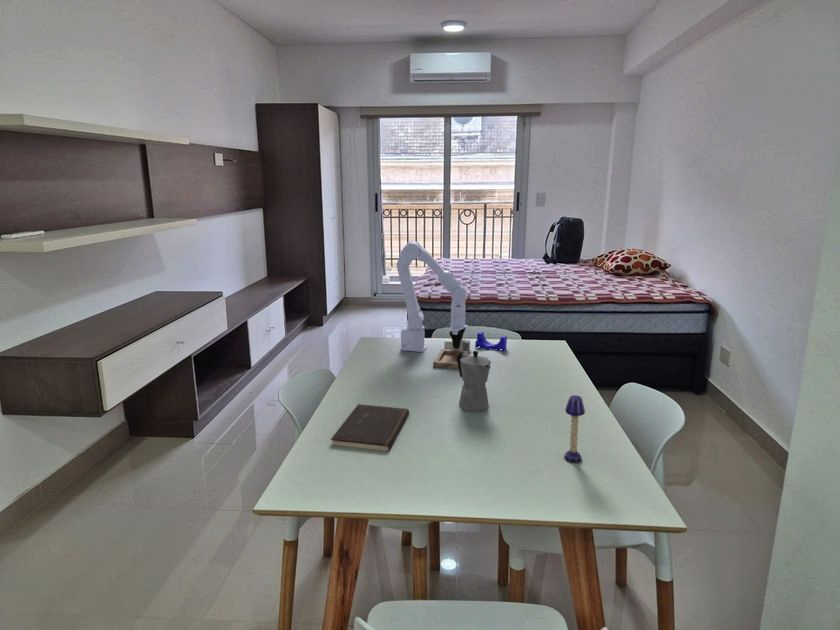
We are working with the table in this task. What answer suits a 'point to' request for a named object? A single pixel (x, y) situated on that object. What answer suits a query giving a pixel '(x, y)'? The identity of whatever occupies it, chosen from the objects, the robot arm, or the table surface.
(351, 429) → the hardcover book
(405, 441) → the table surface
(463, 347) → the sleeve block
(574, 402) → the toy lamp
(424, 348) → the robot arm
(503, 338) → the cable clip
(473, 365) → the coffeepot
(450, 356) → the tray
